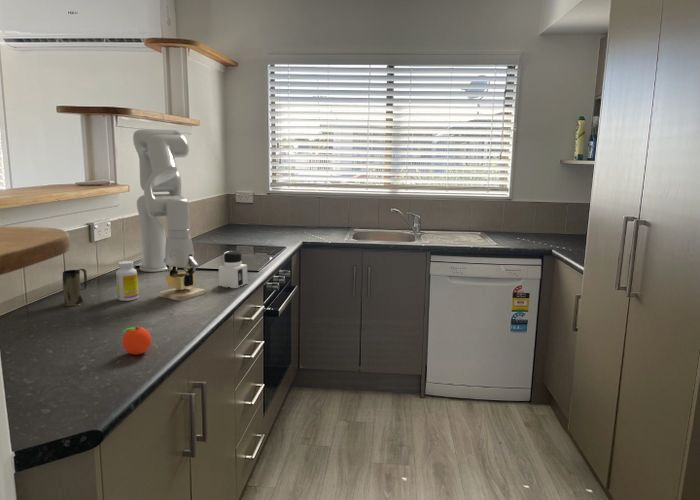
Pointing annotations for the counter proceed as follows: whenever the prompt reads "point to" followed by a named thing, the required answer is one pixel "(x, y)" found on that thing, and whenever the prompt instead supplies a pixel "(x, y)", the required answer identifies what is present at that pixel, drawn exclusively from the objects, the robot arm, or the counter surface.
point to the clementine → (136, 340)
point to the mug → (73, 287)
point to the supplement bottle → (127, 281)
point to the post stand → (182, 293)
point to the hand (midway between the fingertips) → (181, 283)
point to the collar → (179, 281)
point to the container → (232, 270)
